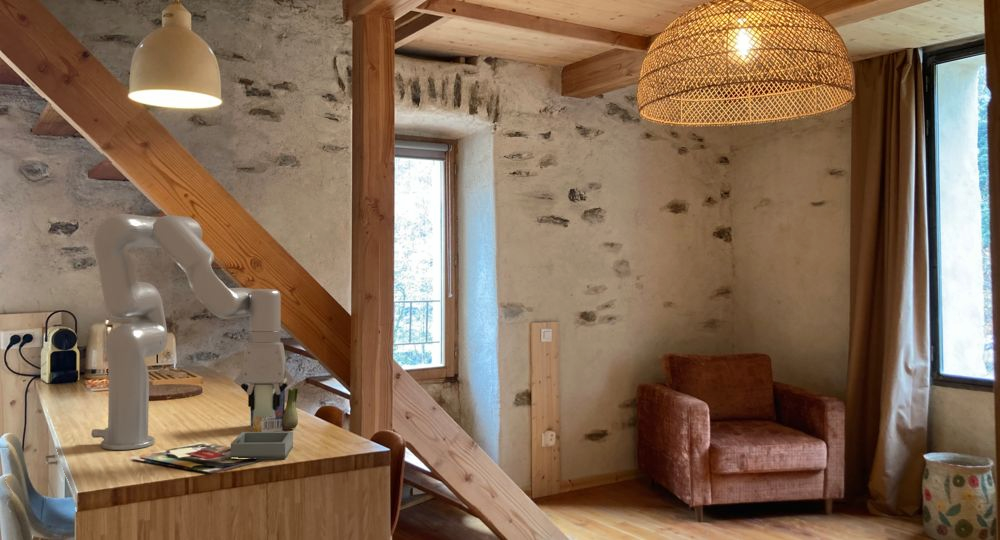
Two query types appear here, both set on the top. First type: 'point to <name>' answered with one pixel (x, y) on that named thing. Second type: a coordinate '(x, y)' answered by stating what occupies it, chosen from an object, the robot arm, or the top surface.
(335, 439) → the top surface
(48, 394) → the top surface
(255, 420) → the beverage box
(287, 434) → the bin
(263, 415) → the white ceramic cup
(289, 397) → the fennel bulb
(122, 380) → the robot arm
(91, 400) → the top surface
